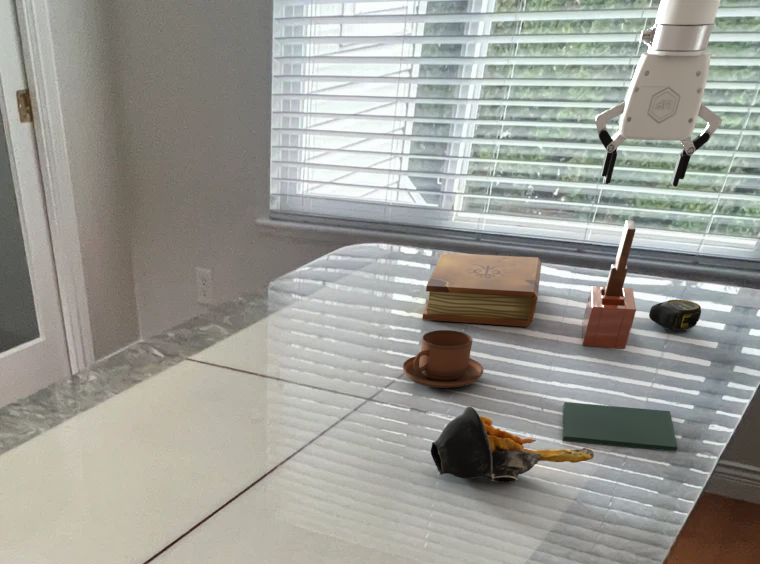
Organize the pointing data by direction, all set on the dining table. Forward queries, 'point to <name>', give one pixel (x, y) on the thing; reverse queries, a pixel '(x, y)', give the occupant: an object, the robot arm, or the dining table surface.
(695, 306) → the tape measure
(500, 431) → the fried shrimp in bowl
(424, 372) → the cup and saucer
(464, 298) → the diary
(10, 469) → the dining table surface
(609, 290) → the notched brown wooden bar
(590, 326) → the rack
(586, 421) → the mat
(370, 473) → the dining table surface
